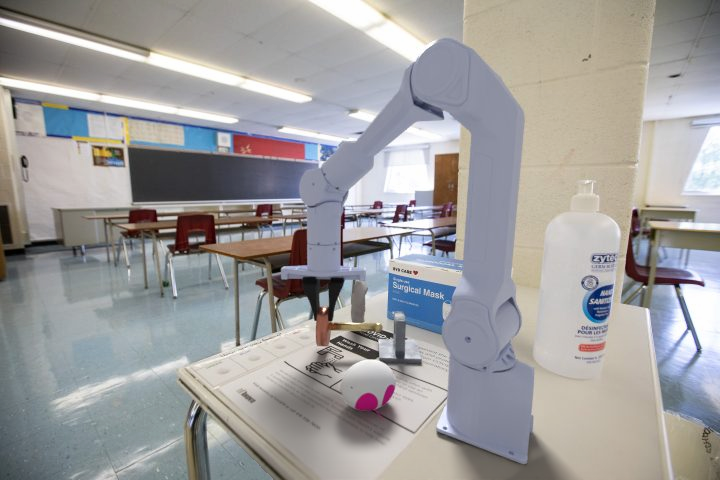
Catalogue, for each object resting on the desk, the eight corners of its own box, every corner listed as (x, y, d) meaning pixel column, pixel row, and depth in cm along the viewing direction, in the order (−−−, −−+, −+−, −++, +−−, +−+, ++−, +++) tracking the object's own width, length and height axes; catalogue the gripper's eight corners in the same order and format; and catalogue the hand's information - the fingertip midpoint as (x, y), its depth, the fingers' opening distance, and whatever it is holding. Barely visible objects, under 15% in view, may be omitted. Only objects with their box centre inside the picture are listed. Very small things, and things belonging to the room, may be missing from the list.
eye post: (415, 343, 58) (416, 309, 57) (421, 363, 51) (423, 324, 50) (378, 343, 58) (379, 308, 57) (379, 362, 51) (380, 323, 51)
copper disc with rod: (381, 337, 58) (382, 302, 57) (383, 355, 51) (384, 316, 50) (321, 335, 58) (321, 301, 57) (315, 353, 52) (315, 314, 51)
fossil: (363, 332, 63) (364, 284, 62) (347, 330, 64) (347, 283, 62) (368, 321, 69) (369, 277, 67) (353, 319, 69) (354, 276, 68)
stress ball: (350, 445, 38) (363, 426, 34) (328, 383, 43) (338, 360, 39) (400, 423, 41) (418, 403, 37) (375, 368, 47) (388, 345, 42)
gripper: (366, 240, 56) (365, 311, 58) (288, 239, 57) (289, 309, 59) (366, 246, 49) (364, 327, 51) (276, 244, 50) (278, 324, 52)
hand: (324, 319), depth 54 cm, fingers closed on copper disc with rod, 2 cm apart
